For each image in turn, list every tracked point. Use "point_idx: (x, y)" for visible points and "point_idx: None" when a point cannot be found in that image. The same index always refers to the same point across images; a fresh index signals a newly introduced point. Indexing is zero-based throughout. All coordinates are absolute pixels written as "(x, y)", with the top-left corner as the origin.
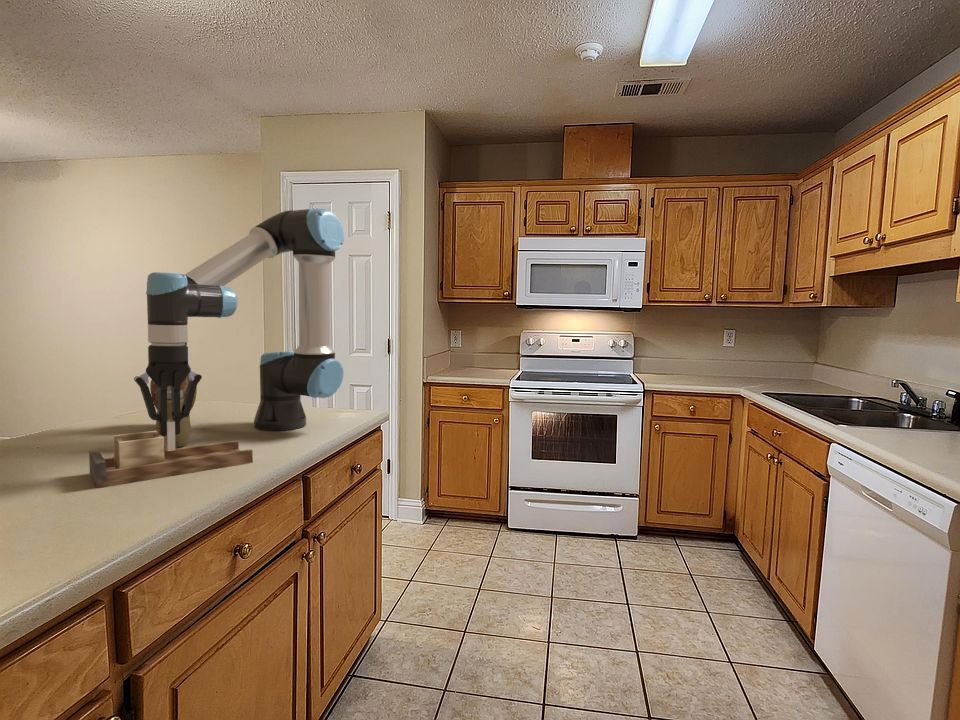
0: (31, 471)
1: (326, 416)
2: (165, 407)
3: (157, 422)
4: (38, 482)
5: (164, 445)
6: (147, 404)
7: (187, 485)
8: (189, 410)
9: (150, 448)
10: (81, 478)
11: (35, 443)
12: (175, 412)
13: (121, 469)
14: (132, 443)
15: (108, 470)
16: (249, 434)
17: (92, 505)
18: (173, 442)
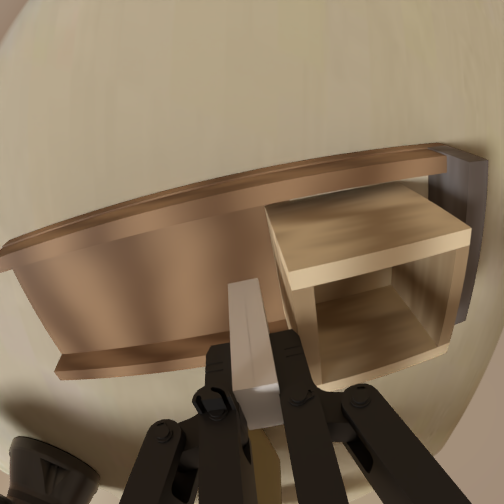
0: (486, 327)
1: (9, 462)
2: (305, 472)
3: (278, 483)
4: (500, 253)
5: (257, 430)
6: (435, 462)
7: (188, 38)
8: (143, 455)
9: (339, 233)
10: None
11: (426, 446)
12: (230, 445)
13: (411, 160)
14: (424, 234)
15: (440, 169)
16: (90, 448)
17: (436, 3)
18: (236, 305)
